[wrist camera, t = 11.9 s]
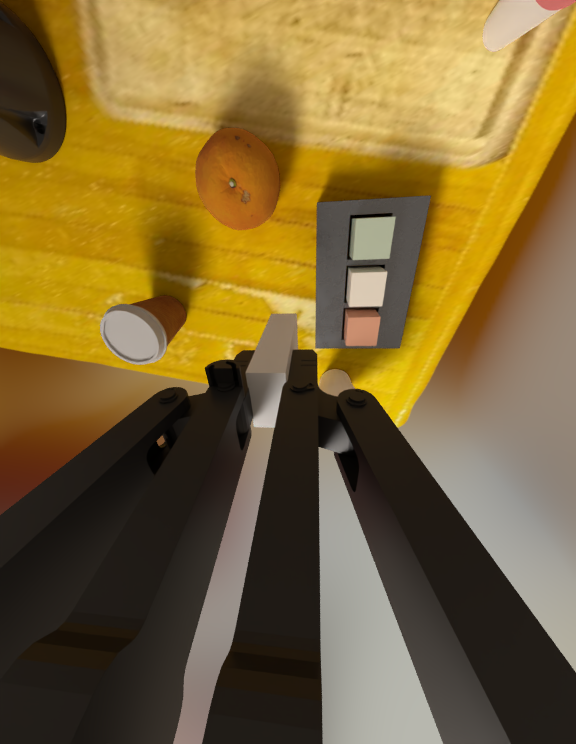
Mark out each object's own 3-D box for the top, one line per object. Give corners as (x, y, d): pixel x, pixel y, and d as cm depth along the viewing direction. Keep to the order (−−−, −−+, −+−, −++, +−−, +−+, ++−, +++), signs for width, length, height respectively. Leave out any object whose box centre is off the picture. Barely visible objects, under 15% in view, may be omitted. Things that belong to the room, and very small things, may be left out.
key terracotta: (344, 307, 41) (348, 317, 37) (373, 306, 41) (380, 317, 37) (343, 333, 44) (346, 346, 39) (370, 333, 43) (376, 345, 39)
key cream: (347, 266, 38) (351, 273, 34) (379, 265, 38) (387, 271, 33) (345, 297, 40) (349, 306, 36) (375, 296, 40) (382, 306, 36)
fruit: (248, 244, 40) (235, 251, 33) (195, 184, 36) (167, 177, 30) (298, 189, 35) (294, 183, 29) (243, 114, 32) (223, 87, 25)
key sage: (351, 218, 35) (356, 218, 31) (385, 216, 34) (395, 216, 30) (348, 254, 37) (352, 260, 33) (380, 253, 37) (389, 258, 33)
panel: (316, 203, 36) (317, 202, 33) (419, 197, 35) (430, 195, 31) (315, 338, 47) (315, 348, 44) (393, 338, 46) (399, 348, 42)
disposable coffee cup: (168, 275, 43) (123, 293, 33) (205, 320, 47) (175, 349, 37) (133, 303, 47) (83, 328, 37) (171, 344, 51) (135, 376, 40)
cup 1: (359, 355, 48) (372, 398, 37) (362, 398, 53) (375, 448, 42) (304, 363, 50) (301, 406, 39) (313, 404, 55) (313, 453, 44)
